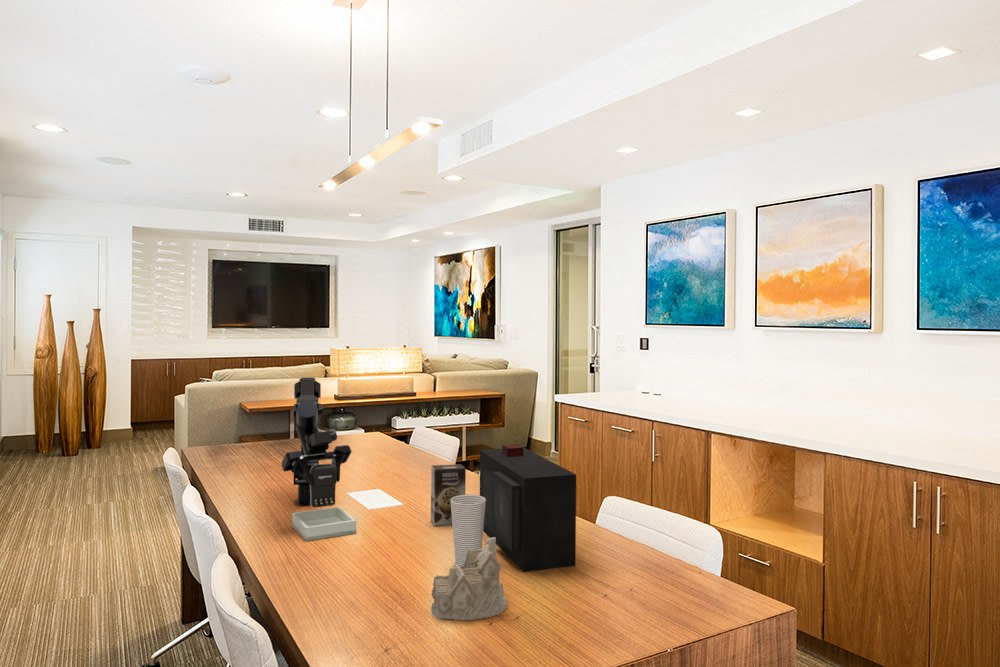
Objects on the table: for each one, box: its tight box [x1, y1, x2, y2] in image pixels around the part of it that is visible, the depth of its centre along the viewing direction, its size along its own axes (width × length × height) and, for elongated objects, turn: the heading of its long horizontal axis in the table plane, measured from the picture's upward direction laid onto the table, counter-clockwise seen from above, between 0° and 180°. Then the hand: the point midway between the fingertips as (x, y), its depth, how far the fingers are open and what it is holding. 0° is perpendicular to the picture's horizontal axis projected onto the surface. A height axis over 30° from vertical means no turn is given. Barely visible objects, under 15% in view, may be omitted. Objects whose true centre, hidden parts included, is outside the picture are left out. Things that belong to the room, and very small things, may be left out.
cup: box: [451, 494, 486, 568], centre depth 163 cm, size 8×8×16 cm
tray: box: [291, 506, 357, 542], centre depth 188 cm, size 16×14×4 cm
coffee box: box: [430, 463, 467, 527], centre depth 195 cm, size 9×6×16 cm
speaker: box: [479, 444, 577, 573], centre depth 176 cm, size 15×35×24 cm, turn 19°
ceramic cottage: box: [430, 537, 509, 622], centre depth 140 cm, size 16×16×15 cm
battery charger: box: [309, 463, 338, 508], centre depth 188 cm, size 7×4×11 cm, turn 116°
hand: (325, 483), depth 187 cm, fingers closed on battery charger, 7 cm apart
